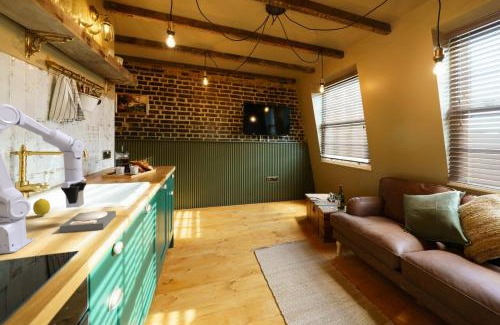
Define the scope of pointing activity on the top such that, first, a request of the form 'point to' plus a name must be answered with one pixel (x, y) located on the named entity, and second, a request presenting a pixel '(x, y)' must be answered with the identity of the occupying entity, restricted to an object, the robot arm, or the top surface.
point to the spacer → (78, 202)
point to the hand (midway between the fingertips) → (75, 201)
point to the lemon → (41, 207)
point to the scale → (88, 221)
